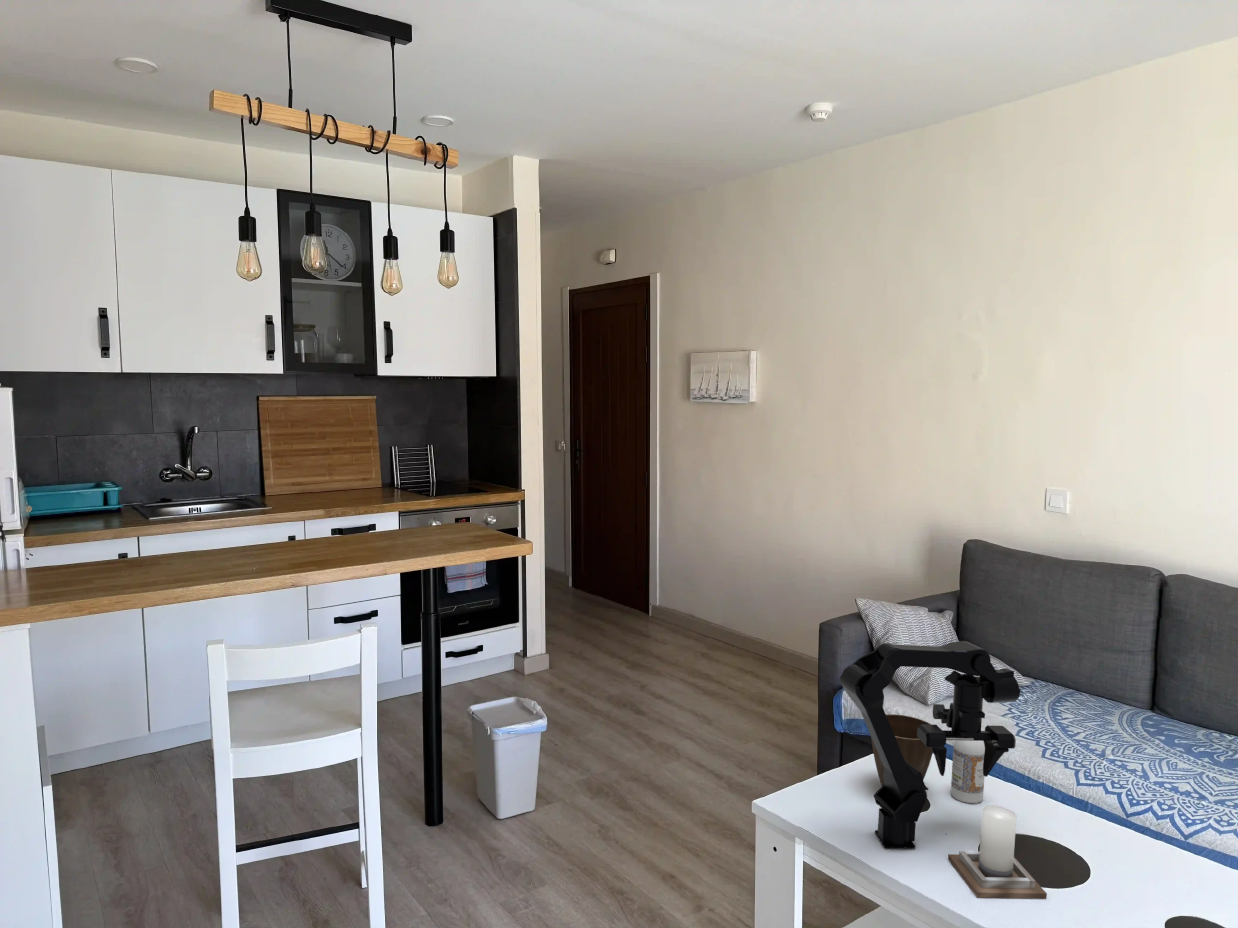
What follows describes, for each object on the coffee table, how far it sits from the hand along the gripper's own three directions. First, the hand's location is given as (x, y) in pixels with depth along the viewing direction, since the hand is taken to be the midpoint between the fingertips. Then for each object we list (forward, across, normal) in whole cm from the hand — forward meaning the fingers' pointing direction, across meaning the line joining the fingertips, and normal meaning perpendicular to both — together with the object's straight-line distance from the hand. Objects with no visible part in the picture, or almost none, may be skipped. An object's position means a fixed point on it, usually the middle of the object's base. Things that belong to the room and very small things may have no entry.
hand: (963, 775), depth 176 cm
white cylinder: (+12, 0, +16) cm, 20 cm away
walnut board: (+13, 0, +16) cm, 21 cm away
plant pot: (+13, +6, -19) cm, 24 cm away
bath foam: (+13, -9, -17) cm, 23 cm away
